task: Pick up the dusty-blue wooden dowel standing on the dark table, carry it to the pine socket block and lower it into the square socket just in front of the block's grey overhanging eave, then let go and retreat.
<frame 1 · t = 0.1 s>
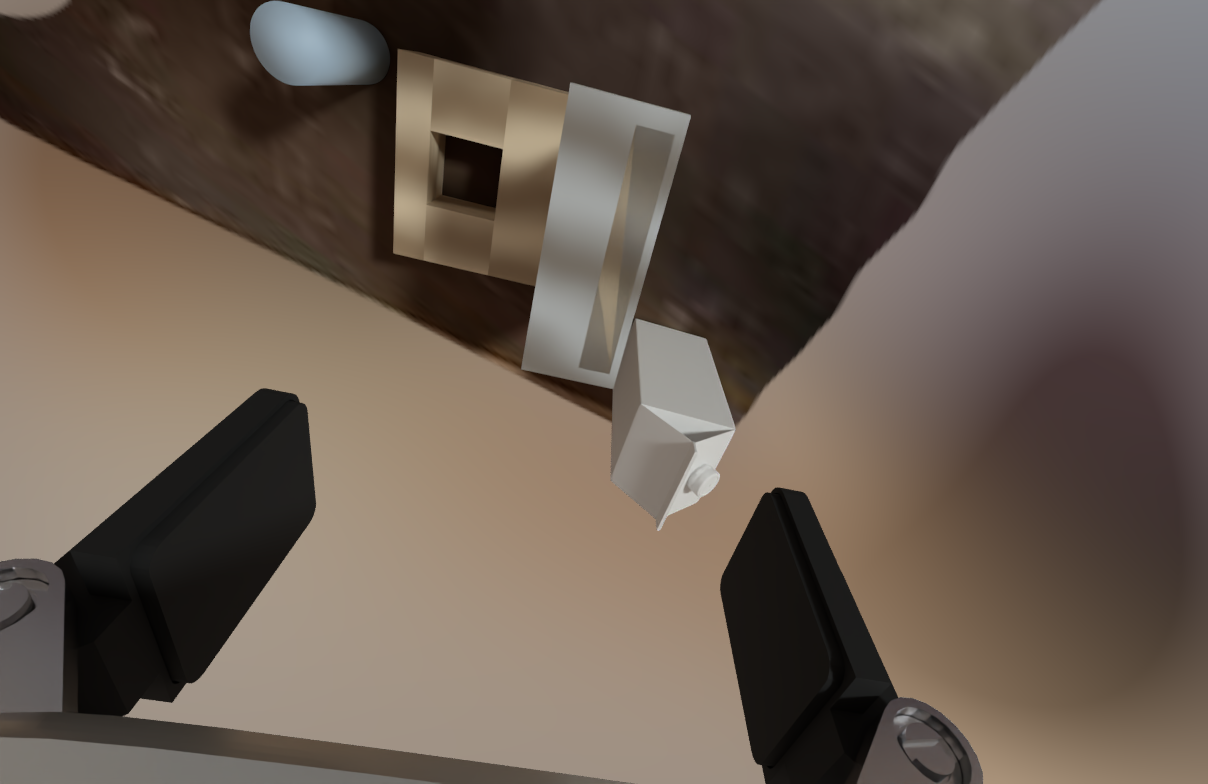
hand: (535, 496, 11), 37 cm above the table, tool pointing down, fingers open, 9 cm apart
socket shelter: (525, 182, 42), on the table
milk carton: (658, 358, 50), on the table
peg: (362, 52, 38), on the table
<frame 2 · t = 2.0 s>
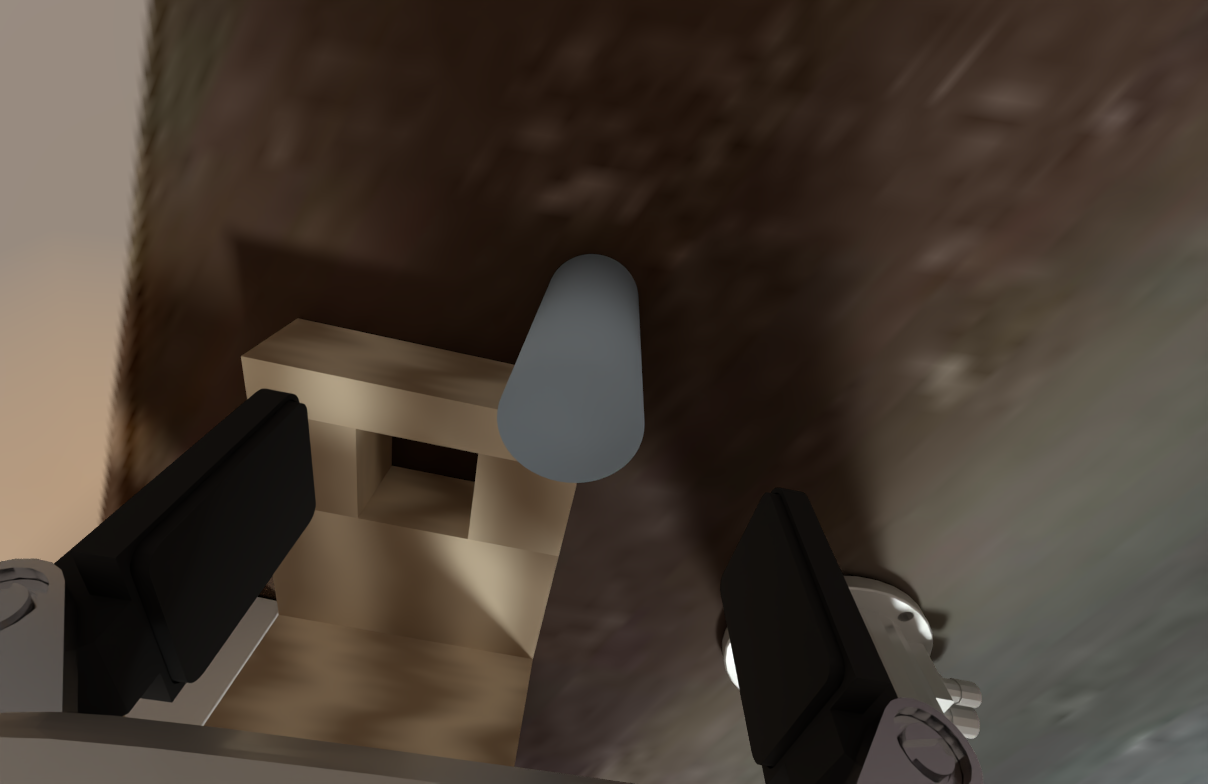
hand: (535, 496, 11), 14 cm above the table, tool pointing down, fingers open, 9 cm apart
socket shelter: (438, 494, 29), on the table
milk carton: (236, 619, 35), on the table
peg: (592, 299, 23), on the table
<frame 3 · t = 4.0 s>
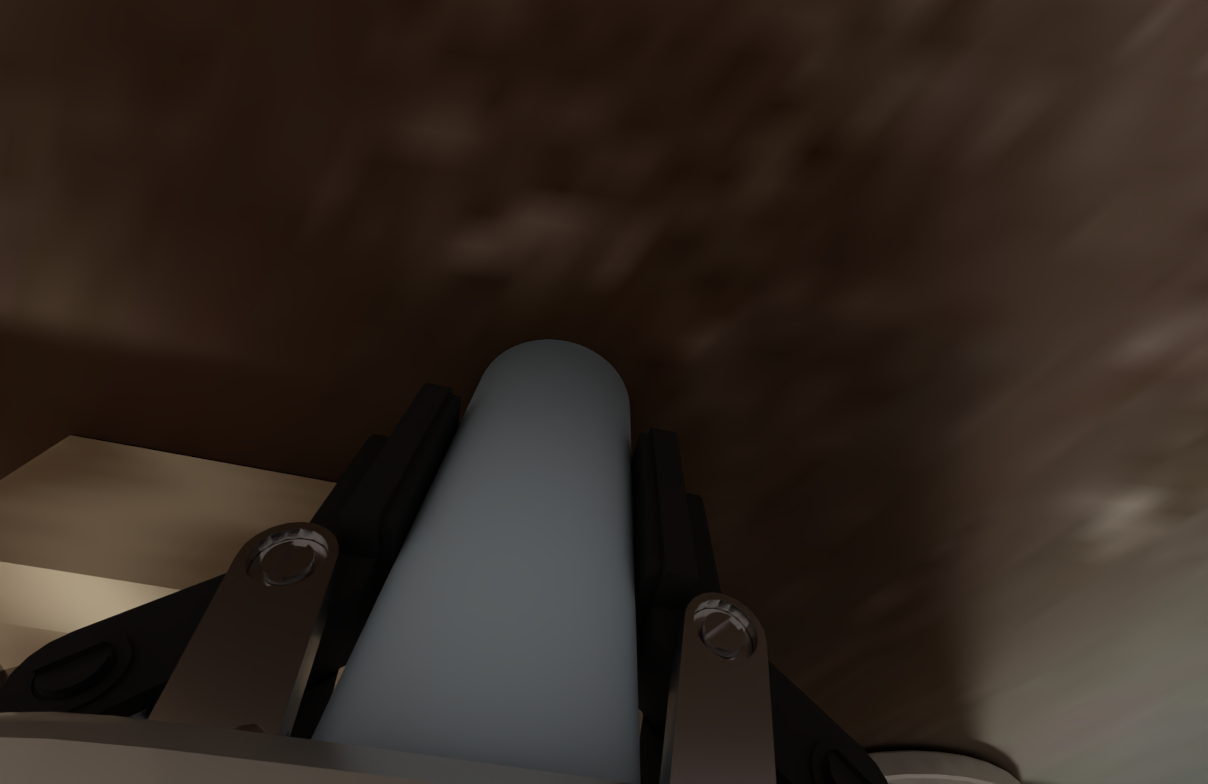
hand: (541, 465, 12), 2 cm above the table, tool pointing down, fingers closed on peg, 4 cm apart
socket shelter: (340, 658, 20), on the table
peg: (553, 408, 14), on the table, touching gripper
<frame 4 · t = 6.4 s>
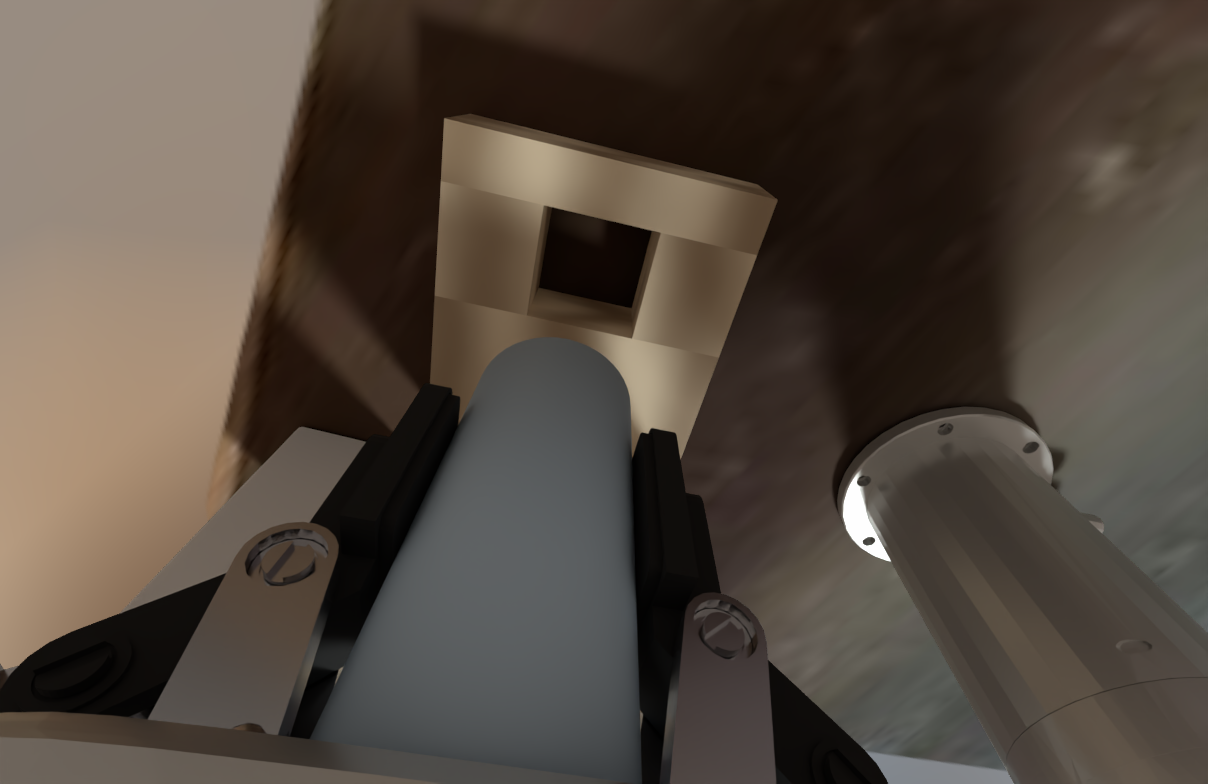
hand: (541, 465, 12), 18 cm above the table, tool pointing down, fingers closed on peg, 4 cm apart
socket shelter: (580, 321, 29), on the table
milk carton: (355, 475, 36), on the table
peg: (553, 407, 14), point 16 cm above the table, touching gripper
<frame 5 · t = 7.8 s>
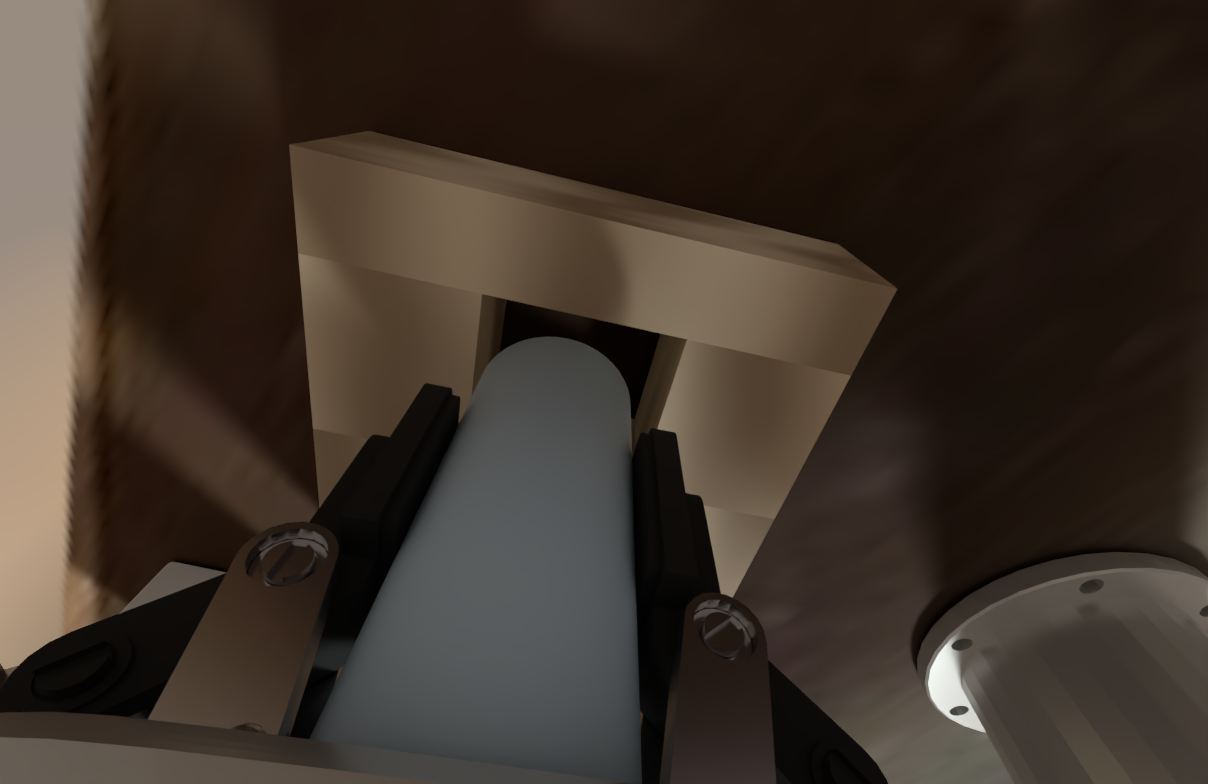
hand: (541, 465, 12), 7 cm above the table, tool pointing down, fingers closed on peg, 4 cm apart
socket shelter: (558, 435, 20), on the table
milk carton: (258, 615, 26), on the table
peg: (553, 406, 14), point 5 cm above the table, touching gripper
when the fingers open (4 cm above the table, at t = 9.0 s): peg drops 2 cm, resting in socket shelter.
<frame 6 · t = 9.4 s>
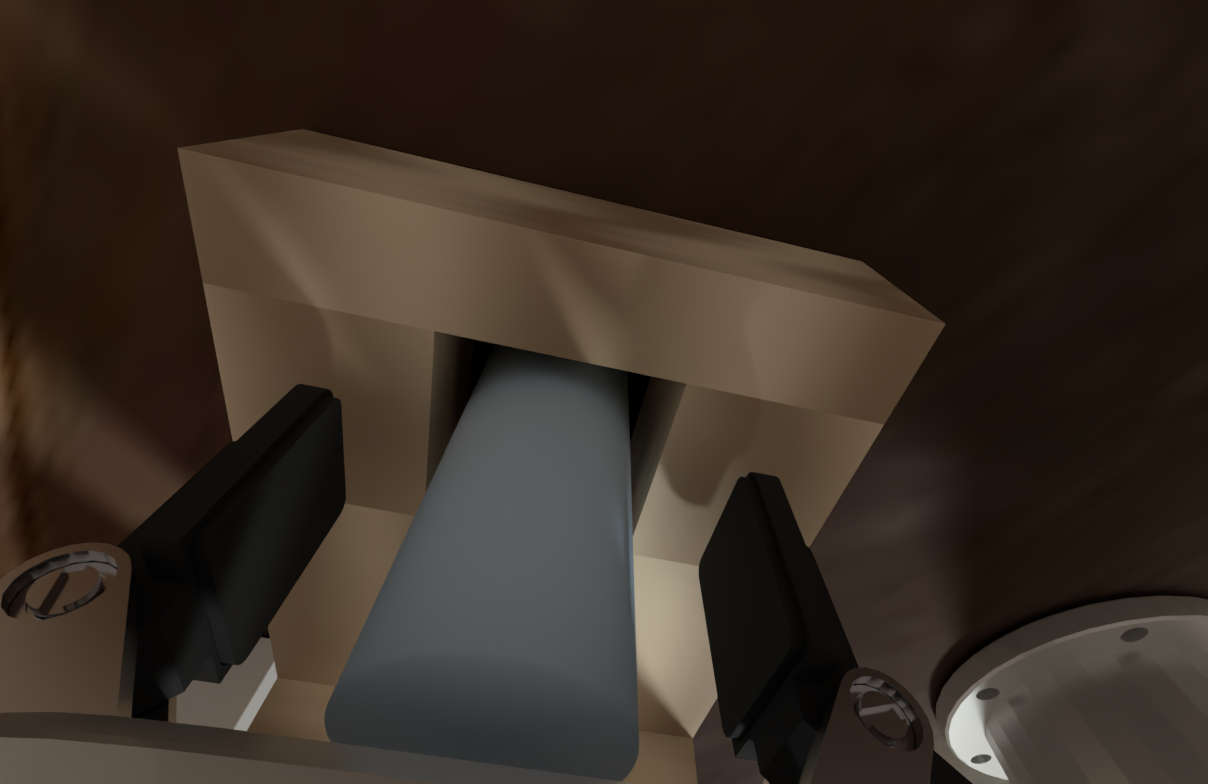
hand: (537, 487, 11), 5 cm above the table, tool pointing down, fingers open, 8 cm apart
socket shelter: (540, 474, 17), on the table
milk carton: (213, 663, 24), on the table
peg: (559, 370, 15), resting in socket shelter
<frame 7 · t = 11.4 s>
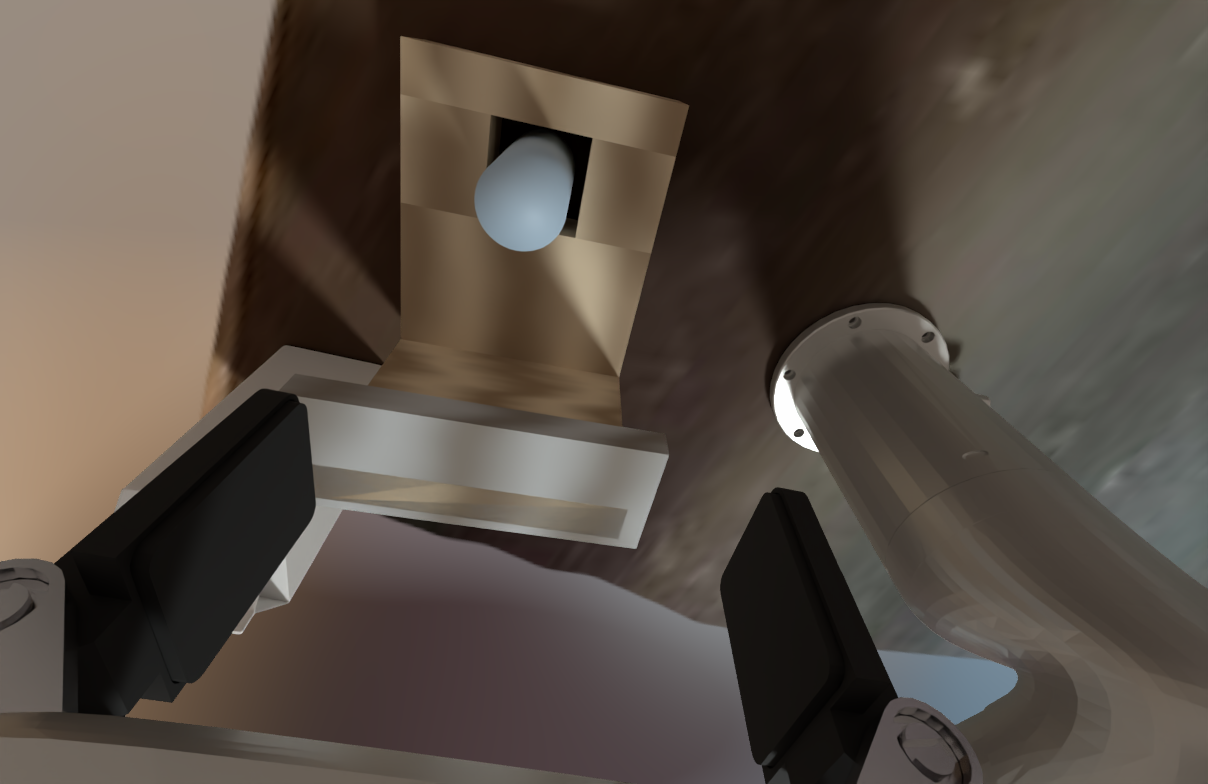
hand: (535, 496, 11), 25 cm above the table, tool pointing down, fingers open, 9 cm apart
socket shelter: (533, 233, 33), on the table
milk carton: (338, 392, 39), on the table
peg: (541, 166, 31), resting in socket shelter
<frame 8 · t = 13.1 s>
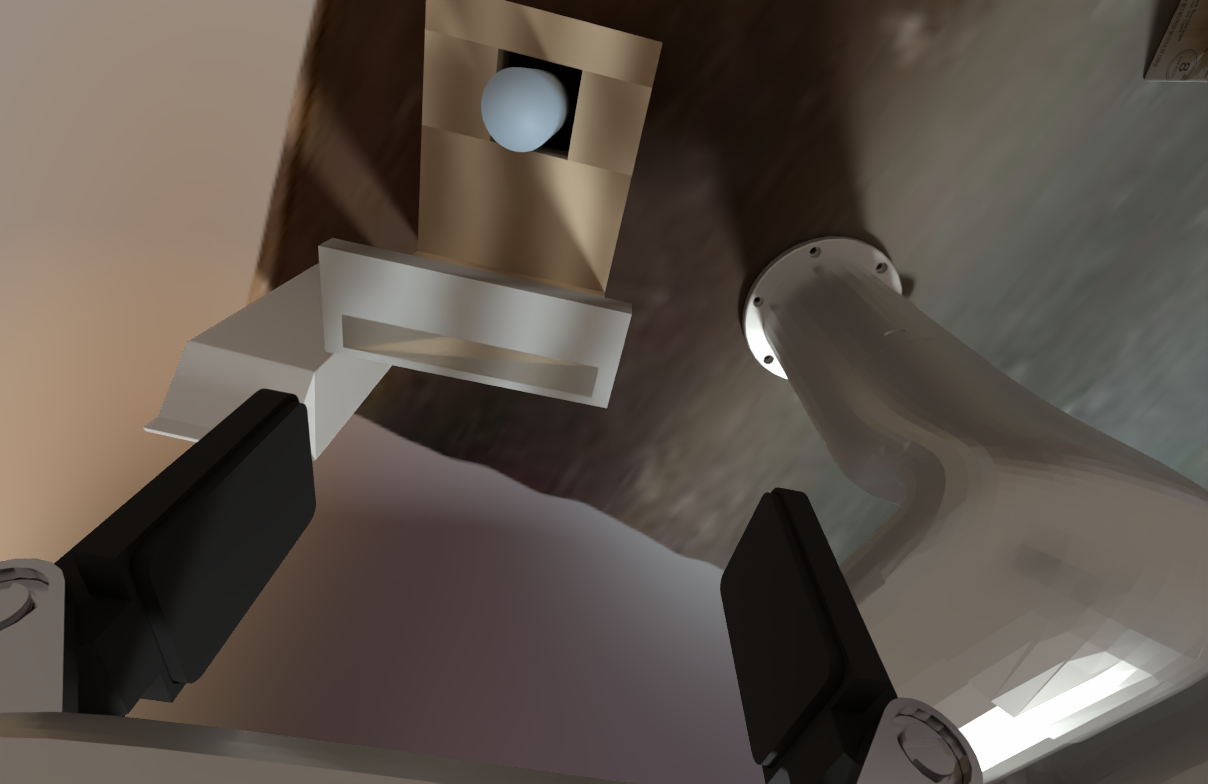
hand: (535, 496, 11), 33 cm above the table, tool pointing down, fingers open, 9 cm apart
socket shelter: (534, 164, 38), on the table
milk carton: (361, 311, 45), on the table
peg: (542, 103, 36), resting in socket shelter
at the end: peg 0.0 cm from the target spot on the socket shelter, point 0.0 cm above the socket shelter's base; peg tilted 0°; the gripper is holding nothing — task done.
